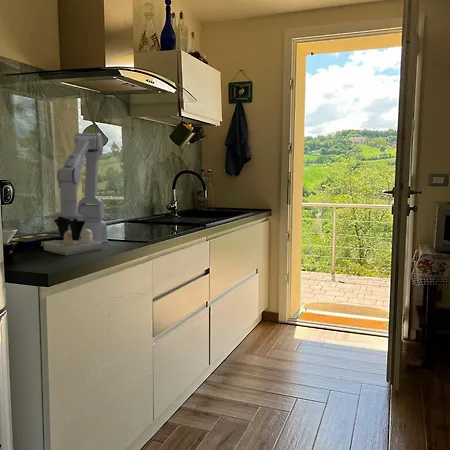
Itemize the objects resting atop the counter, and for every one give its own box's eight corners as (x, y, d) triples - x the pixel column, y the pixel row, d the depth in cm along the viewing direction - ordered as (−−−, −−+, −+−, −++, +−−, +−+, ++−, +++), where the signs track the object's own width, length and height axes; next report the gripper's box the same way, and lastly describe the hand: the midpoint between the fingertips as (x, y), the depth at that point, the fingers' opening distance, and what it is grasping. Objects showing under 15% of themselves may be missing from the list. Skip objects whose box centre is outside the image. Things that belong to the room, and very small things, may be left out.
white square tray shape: (79, 245, 179) (79, 225, 178) (102, 250, 170) (102, 229, 169) (44, 250, 168) (43, 228, 167) (66, 255, 158) (65, 232, 157)
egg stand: (57, 243, 181) (57, 240, 181) (66, 245, 177) (66, 242, 177) (40, 245, 176) (40, 242, 176) (49, 248, 172) (49, 244, 171)
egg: (71, 248, 166) (71, 229, 165) (78, 249, 164) (77, 230, 163) (61, 249, 163) (61, 230, 162) (68, 251, 161) (67, 231, 160)
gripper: (47, 200, 163) (48, 237, 165) (70, 203, 154) (71, 242, 155) (65, 199, 168) (66, 236, 170) (88, 202, 159) (88, 240, 161)
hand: (69, 239), depth 163 cm, fingers open, 7 cm apart
